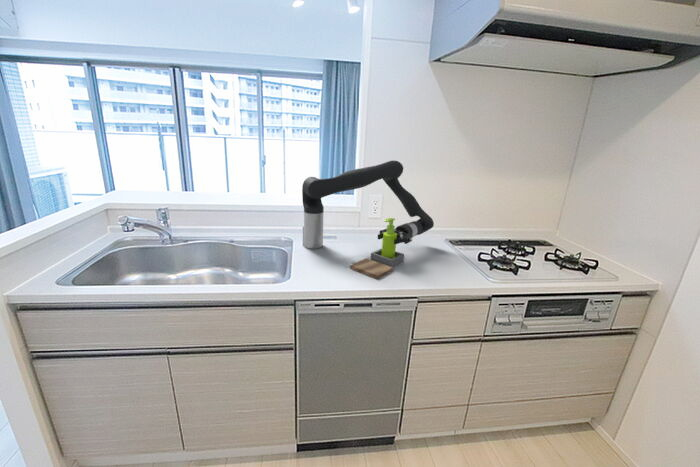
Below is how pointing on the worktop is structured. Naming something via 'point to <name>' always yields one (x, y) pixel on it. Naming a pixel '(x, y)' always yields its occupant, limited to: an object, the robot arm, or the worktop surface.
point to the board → (371, 268)
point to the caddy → (387, 261)
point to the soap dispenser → (389, 240)
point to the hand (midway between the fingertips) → (386, 239)
